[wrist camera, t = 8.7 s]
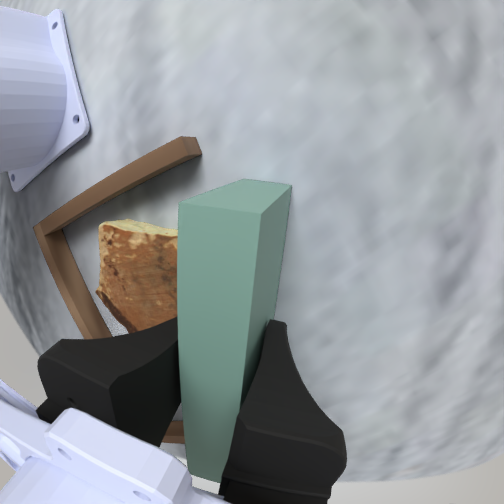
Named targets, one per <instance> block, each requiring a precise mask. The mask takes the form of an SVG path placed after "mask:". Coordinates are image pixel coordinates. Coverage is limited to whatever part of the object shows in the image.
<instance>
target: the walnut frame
mask: <svg viewBox="0 0 504 504" xmlns="http://www.w3.org/2000/svg"><path fill="white" fill-rule="evenodd" d="M201 154H202V152H201V150H200V147H199V144H198V142H197V139H196V137H183V136H181V137H179V138H177V139H175V140H173V141H171V142H169V143H167V144H165V145H163V146H161V147H159V148H157V149H155V150H154V151H152V152H150V153H148V154H146V155H144V156H143V157H141V158H139V159H137V160H135V161H134V162H132V163H130V164H128V165H127V166H125V167H123V168H122V169H120V170H118V171H116V172H115V173H113V174H111V175H110V176H108V177H106V178H105V179H103V180H102V181H100V182H98V183H97V184H95V185H94V186H92V187H90V188H89V189H87V190H86V191H84V192H83V193H81V194H80V195H78V196H77V197H75V198H74V199H72V200H71V201H69V202H68V203H66V204H65V205H63V206H62V207H60V208H59V209H58V210H56V211H55V212H53V213H52V214H50V215H49V216H48V217H46V218H45V219H44V220H42V221H41V222H39V223H38V224H37V225H35V226H34V227H33V229H34V232H35V235H36V237H37V240H38V243H39V245H40V248H41V250H42V253H43V255H44V257H45V260H46V262H47V265H48V267H49V269H50V271H51V274H52V276H53V278H54V280H55V283H56V285H57V287H58V289H59V291H60V293H61V295H62V297H63V299H64V301H65V303H66V305H67V307H68V309H69V311H70V313H71V315H72V317H73V319H74V321H75V323H76V325H77V326H78V328H79V330H80V332H81V334H82V335H83V337H84V339H99V338H108V337H112V335H111V333H110V331H109V330H108V328H107V326H106V324H105V322H104V320H103V318H102V317H101V315H100V313H99V311H98V309H97V307H96V305H95V303H94V301H93V299H92V297H91V295H90V293H89V291H88V289H87V287H86V285H85V282H84V280H83V278H82V276H81V274H80V272H79V269H78V267H77V265H76V263H75V260H74V258H73V256H72V253H71V251H70V249H69V246H68V244H67V241H66V239H65V236H64V234H63V231H62V228H64V227H65V226H67V225H68V224H70V223H72V222H73V221H75V220H77V219H78V218H80V217H82V216H83V215H85V214H87V213H88V212H90V211H92V210H94V209H95V208H97V207H99V206H101V205H102V204H104V203H106V202H108V201H109V200H111V199H113V198H115V197H117V196H118V195H120V194H122V193H124V192H126V191H128V190H130V189H131V188H133V187H135V186H137V185H139V184H141V183H143V182H145V181H147V180H149V179H151V178H153V177H155V176H157V175H159V174H161V173H163V172H165V171H167V170H169V169H171V168H173V167H175V166H177V165H179V164H181V163H184V162H186V161H188V160H190V159H192V158H194V157H197V156H199V155H201ZM162 442H164V443H181V444H185V437H184V426H183V421H171V423H170V425H169V427H168V429H167V432H166V434H165V436H164V438H163V440H162Z"/></svg>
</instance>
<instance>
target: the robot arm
mask: <svg viewBox="0 0 504 504" xmlns="http://www.w3.org/2000/svg"><path fill="white" fill-rule="evenodd" d="M78 117H79V119H80V120H79V122H78ZM89 127H90V126H89V121H88V118H87V114H86V111H85V107H84V104H83V100H82V97H81V93H80V89H79V86H78V82H77V78H76V74H75V70H74V66H73V62H72V57H71V53H70V48H69V44H68V39H67V34H66V29H65V24H64V18H63V13H62V10H60V9H55V10H53V11H52V12H51V13H50V14H49V15H48V16H47V17H45V16H41V15H38V14H34V13H30V12H26V11H22V10H18V9H13V8H9V7H4V6H0V173H1V172H6V171H8V175H9V178H10V182H11V186H12V189H13V190H14V191H15V192H18V191H21V190H22V189H23V188H24V187H25V186H26V185H27V184H28V183H29V182H30V181H31V180H33V179H34V178H35V177H36V176H37V175H38V174H39V173H40V172H41V171H43V170H44V169H45V168H46V167H47V166H48V165H50V164H51V163H52V162H53V161H54V160H55V159H57V158H58V157H59V156H60V155H61V154H63V153H64V152H65V151H66V150H68V149H69V148H70V147H71V146H73V145H74V144H75V143H77V142H78V141H79V140H80V139H82V138H83V137H84V136H86V135H87V133H88V131H89ZM38 372H39V375H40V378H41V381H42V384H43V387H44V389H45V392H46V395H47V397H48V398H47V399H46V400H45V402H44V403H42V405H40V406H39V407H38V408H37V407H36V406H35V405H33V404H32V403H30V402H29V401H28V400H26V399H25V398H24V397H22V396H21V395H20V394H19V393H17V392H16V391H15V390H13V389H12V388H11V387H10V386H8V385H7V384H6V383H5V382H4V381H2V380H1V379H0V457H1V458H2V459H3V460H4V461H5V462H6V463H7V464H8V465H9V466H10V467H12V468H13V469H14V470H15V471H16V473H15V474H14V476H13V477H12V478H11V479H10V480H9V481H8V482H7V484H6V485H5V486H4V487H3V488H2V490H1V491H0V504H327V500H328V499H329V498H330V496H331V488H332V485H333V484H334V483H335V482H336V481H337V479H338V478H339V477H340V476H341V474H342V473H343V472H344V470H345V468H346V462H347V453H346V445H345V440H344V435H343V431H342V430H341V429H340V428H339V427H338V426H337V425H336V424H335V423H334V422H333V421H331V420H330V419H329V418H328V417H327V416H326V415H325V413H324V412H323V411H322V410H321V409H320V408H319V406H318V405H317V403H316V402H315V401H314V399H313V398H312V396H311V395H310V394H309V392H308V390H307V388H306V387H305V385H304V383H303V381H302V379H301V377H300V375H299V373H298V370H297V368H296V365H295V363H294V360H293V357H292V354H291V350H290V347H289V342H288V337H287V325H286V324H285V322H280V321H276V320H272V319H270V320H269V322H268V325H267V327H266V332H265V336H264V341H263V345H262V350H261V354H260V358H259V363H258V367H257V372H256V374H255V377H254V379H253V382H252V384H251V387H250V389H249V392H248V394H247V396H246V399H245V401H244V403H243V405H242V407H241V409H240V411H239V413H238V415H237V418H236V423H235V428H234V432H233V437H232V442H231V446H230V451H229V456H228V460H227V462H226V465H225V468H224V470H223V473H222V476H221V483H220V488H219V493H218V494H214V493H211V492H208V491H204V490H201V489H198V488H195V487H192V477H191V475H190V473H189V471H188V469H187V467H186V465H184V464H183V463H182V462H181V461H180V460H178V459H177V458H176V457H175V456H174V455H172V454H170V453H168V452H166V451H164V450H162V449H160V448H159V447H160V445H161V442H162V440H163V438H164V436H165V434H166V432H167V429H168V427H169V425H170V423H171V421H172V419H173V417H174V415H175V413H176V411H177V409H178V407H179V405H180V403H181V387H180V370H179V348H178V316H176V317H174V318H172V319H170V320H168V321H165V322H163V323H160V324H158V325H156V326H153V327H150V328H147V329H144V330H141V331H137V332H134V333H129V334H124V335H119V336H114V337H108V338H99V339H61V340H60V341H58V342H57V343H56V344H55V345H54V346H52V347H51V348H50V349H49V350H47V351H46V352H45V353H44V354H43V355H41V356H40V358H39V359H38Z"/></svg>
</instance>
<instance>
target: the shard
mask: <svg viewBox="0 0 504 504" xmlns="http://www.w3.org/2000/svg"><path fill="white" fill-rule="evenodd" d="M177 243H178V230H176V229H165V228H162V227H158V226H155V225H152V224H148V223H145V222H144V223H141V222H136V221H133V220H130V219H125V220H117V221H105V222H103V223H101V224H100V225H99V249H100V260H101V263H100V268H101V270H100V280H99V287H98V288H97V290H96V294H97V295H98V296H99V298H100V299H101V300H102V302H103V304H104V305H105V306H106V307H107V308H108V309H109V311H110V312H111V314H112V315H113V316H114V317H115V318H116V320H117V321H118V322H119V323H121V324H122V325H123V326H125V327H126V329H127V331H128V333H134V332H137V331H141V330H144V329H147V328H150V327H153V326H156V325H158V324H160V323H163V322H165V321H168V320H170V319H172V318H174V317H176V316H178V314H177Z"/></svg>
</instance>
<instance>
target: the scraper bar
mask: <svg viewBox="0 0 504 504" xmlns="http://www.w3.org/2000/svg"><path fill="white" fill-rule="evenodd" d="M291 189H292V185H287V184H280V183H273V182H265V181H257V180H249V179H242V180H239V181H236V182H234V183H231V184H228V185H225V186H222V187H219V188H217V189H214V190H211V191H208V192H205V193H203V194H200V195H197V196H195V197H192V198H189V199H187V200H184V201H181V202H179V209H178V243H177V314H178V348H179V370H180V387H181V402H182V415H183V426H184V437H185V447H186V457H187V465H188V471H189V473H190V474H191V475H194V476H197V477H201V478H204V479H207V480H211V481H214V482H217V483H221V476H222V473H223V470H224V468H225V465H226V462H227V460H228V456H229V451H230V446H231V442H232V437H233V432H234V428H235V423H236V418H237V415H238V413H239V411H240V409H241V407H242V405H243V403H244V401H245V399H246V396H247V394H248V392H249V389H250V387H251V384H252V382H253V379H254V377H255V374H256V372H257V367H258V363H259V358H260V354H261V350H262V345H263V341H264V336H265V332H266V327H267V325H268V322H269V320H270V319H272V320H273V319H274V313H275V306H276V299H277V293H278V286H279V279H280V272H281V265H282V258H283V250H284V243H285V236H286V228H287V220H288V213H289V205H290V197H291Z"/></svg>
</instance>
